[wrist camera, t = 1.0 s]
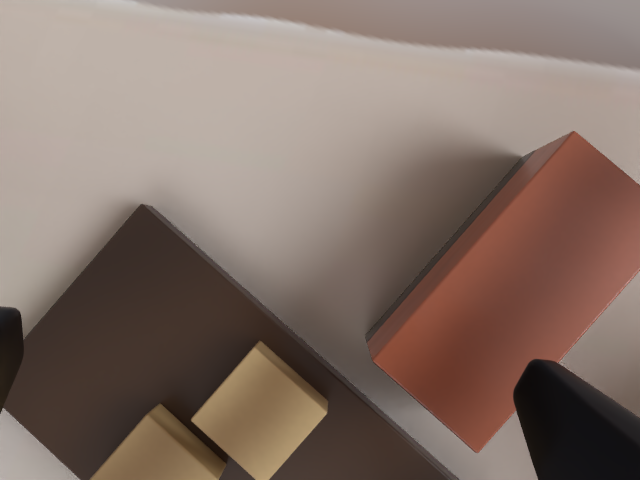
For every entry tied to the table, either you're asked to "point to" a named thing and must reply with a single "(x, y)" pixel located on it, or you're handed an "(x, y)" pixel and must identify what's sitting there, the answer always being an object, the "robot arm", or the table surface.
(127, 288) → the board
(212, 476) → the cork bit
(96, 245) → the table surface
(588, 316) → the reddish orange block
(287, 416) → the cork bit
